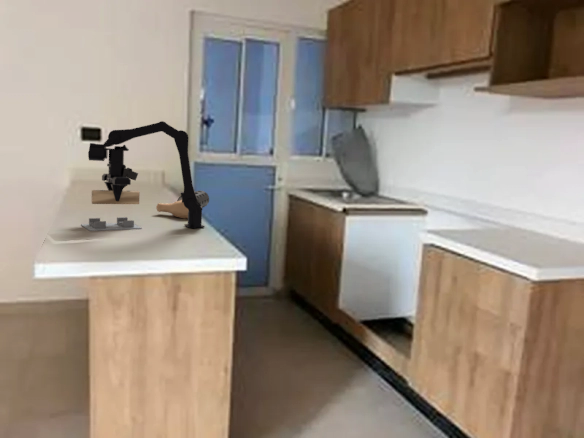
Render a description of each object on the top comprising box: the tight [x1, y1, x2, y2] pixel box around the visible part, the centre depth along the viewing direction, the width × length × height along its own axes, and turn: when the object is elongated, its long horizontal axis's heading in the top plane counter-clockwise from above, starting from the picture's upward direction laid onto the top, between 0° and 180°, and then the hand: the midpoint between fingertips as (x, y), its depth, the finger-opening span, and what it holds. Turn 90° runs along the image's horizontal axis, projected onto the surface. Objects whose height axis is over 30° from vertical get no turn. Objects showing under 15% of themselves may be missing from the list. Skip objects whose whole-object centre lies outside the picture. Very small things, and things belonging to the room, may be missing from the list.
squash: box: [156, 200, 189, 219], centre depth 250 cm, size 11×20×9 cm, turn 75°
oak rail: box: [91, 189, 140, 205], centre depth 220 cm, size 4×18×5 cm, turn 114°
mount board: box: [80, 216, 143, 232], centre depth 216 cm, size 13×20×3 cm, turn 125°
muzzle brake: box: [176, 190, 210, 209], centre depth 268 cm, size 10×28×10 cm, turn 174°
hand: (115, 200), depth 221 cm, fingers closed on oak rail, 5 cm apart
